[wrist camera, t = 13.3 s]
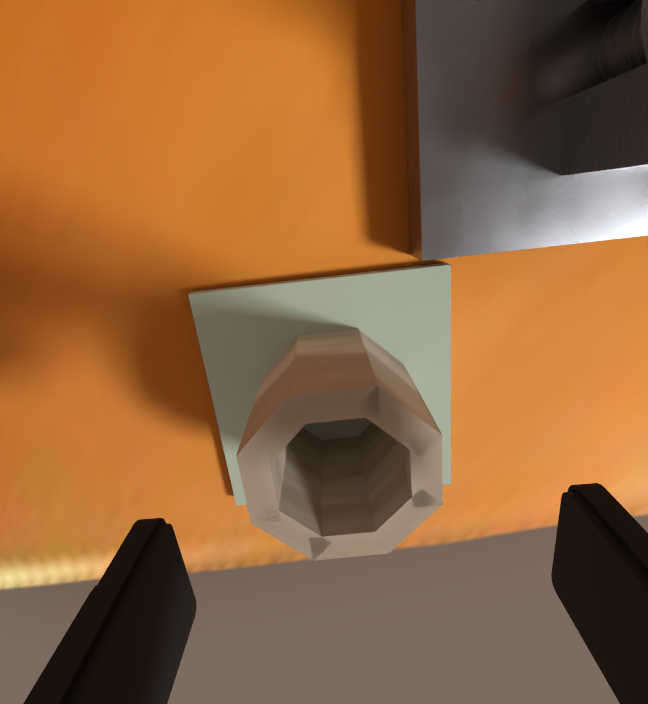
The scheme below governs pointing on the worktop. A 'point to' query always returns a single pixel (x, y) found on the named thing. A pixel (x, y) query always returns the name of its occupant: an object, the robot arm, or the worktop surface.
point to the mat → (322, 316)
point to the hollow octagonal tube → (340, 449)
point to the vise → (524, 123)
